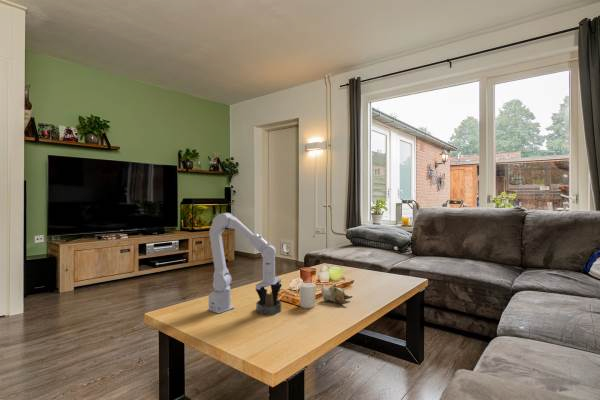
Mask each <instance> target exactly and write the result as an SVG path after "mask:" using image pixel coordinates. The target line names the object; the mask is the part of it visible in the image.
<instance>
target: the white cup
mask: <svg viewBox="0 0 600 400" xmlns="http://www.w3.org/2000/svg"><path fill="white" fill-rule="evenodd" d="M298 287H299V300H300V301H299V303H300V304H299V306H300V307H301V308H304V309H311V308H314V307H315V305H316V291H317V289H316V287H317V285H316V284H315V283H314V282H301V283H299V285H298Z"/></svg>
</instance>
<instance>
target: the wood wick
mask: <svg viewBox="0 0 600 400" xmlns="http://www.w3.org/2000/svg"><path fill="white" fill-rule="evenodd" d="M265 306H273V295H272V293H268V292H267V293H266V301H265Z"/></svg>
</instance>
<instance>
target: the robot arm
mask: <svg viewBox="0 0 600 400" xmlns="http://www.w3.org/2000/svg"><path fill="white" fill-rule="evenodd" d="M226 229H235V230H236V231H237V232H239V233H240V234H242V235H243V237H245V238H246V239H248V242H249V245H250V246H252V248H254V249H255V250H256V251H258V253H260V255H261V257H262V281H261V282H259V283H257V284H255V292H256V293H257V295H258V297H259V300H260V302H261V304H265V301H266V293H268V289H266V287H270V289H271V294H272V295H273V299H274V300H278V296H279V292H280V290H281V288H282V278H280V277H278V278H277V277H276V256H275V255H276V253H277V249H276V247H275V246H274V244H271V243H270V242H269V241H266V240H265V239H264V238H263V235H262V234H259V233H253V232H252V231H251V230H250V229H249V228H248V227H247V226H246V225H244V224H243V222H241V221H240V220H239V218H237V217H236V216H235V215H234V216H233V214H232V213H231V212H224V213H219V214H217V215H216V216H215V217H214V218H213V219H212V224H211V226H210V228H209V232H208V233H209V240H210V246H211V253H212V260H213V267H214V272H213V276H212V277H213V281H212V287H213V289H214V290H213V291H212V292H210V293H209V295H208V308H207V311H210V312H213V313H214V314H215V313H216V314H220V313H221V314H222V313H225V312H227V311H229V310H233V309H235V306H233V305H231V284H232V281H233V277H232V275H231V273H230V270H229V268H228V267H227V262H226V257H225V250H224V243H223V237H222V234H223V233H224V231H225V230H226Z"/></svg>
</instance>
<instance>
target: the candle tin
mask: <svg viewBox="0 0 600 400" xmlns="http://www.w3.org/2000/svg"><path fill="white" fill-rule="evenodd" d="M255 305H256V307H255V311H256V312H257V313H258V314H259V315H260V314H261V315H266V316H269V315H277V314H279V313H280V312H281V311H282V301H281V300H280V299H277V300H274V299H273V306H265V304H261V302H260V299H259V300H257V301H256V303H255Z"/></svg>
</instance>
